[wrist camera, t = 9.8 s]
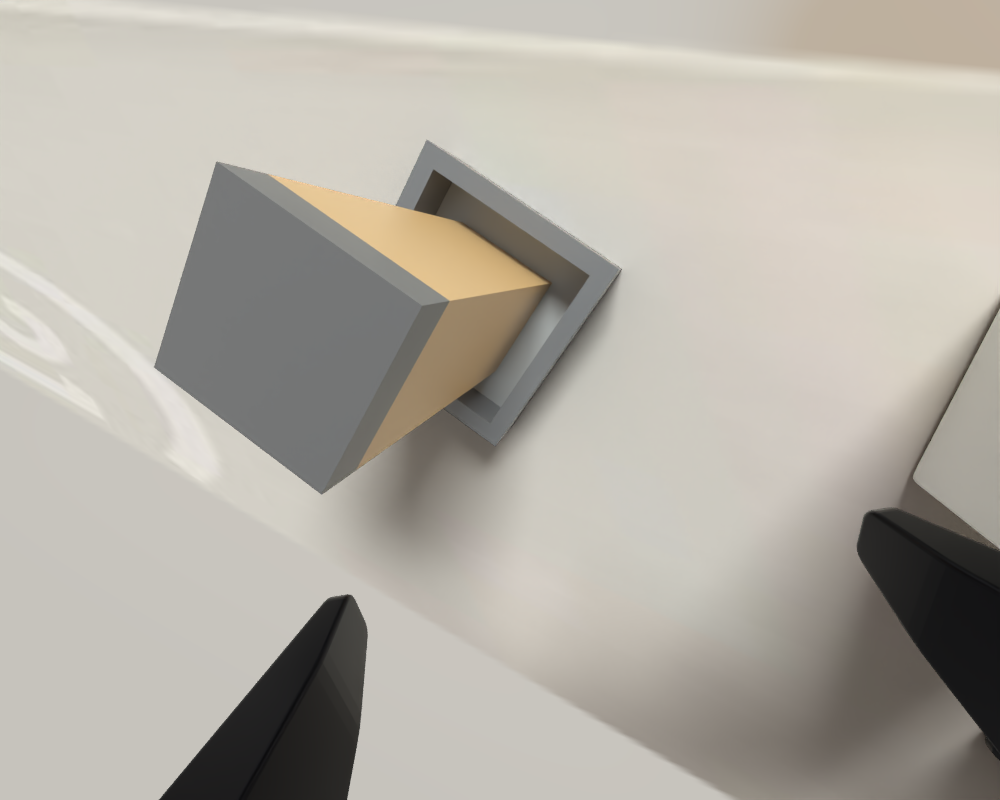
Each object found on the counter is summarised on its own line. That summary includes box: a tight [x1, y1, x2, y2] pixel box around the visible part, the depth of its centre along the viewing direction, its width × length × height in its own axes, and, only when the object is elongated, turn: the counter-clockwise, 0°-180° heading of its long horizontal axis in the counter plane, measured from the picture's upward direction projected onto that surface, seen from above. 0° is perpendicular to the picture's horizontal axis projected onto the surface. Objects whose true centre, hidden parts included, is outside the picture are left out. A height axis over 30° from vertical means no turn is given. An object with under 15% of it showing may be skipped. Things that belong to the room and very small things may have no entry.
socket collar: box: [396, 140, 622, 446], centre depth 19 cm, size 8×8×2 cm
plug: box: [154, 162, 552, 494], centre depth 14 cm, size 4×4×12 cm
